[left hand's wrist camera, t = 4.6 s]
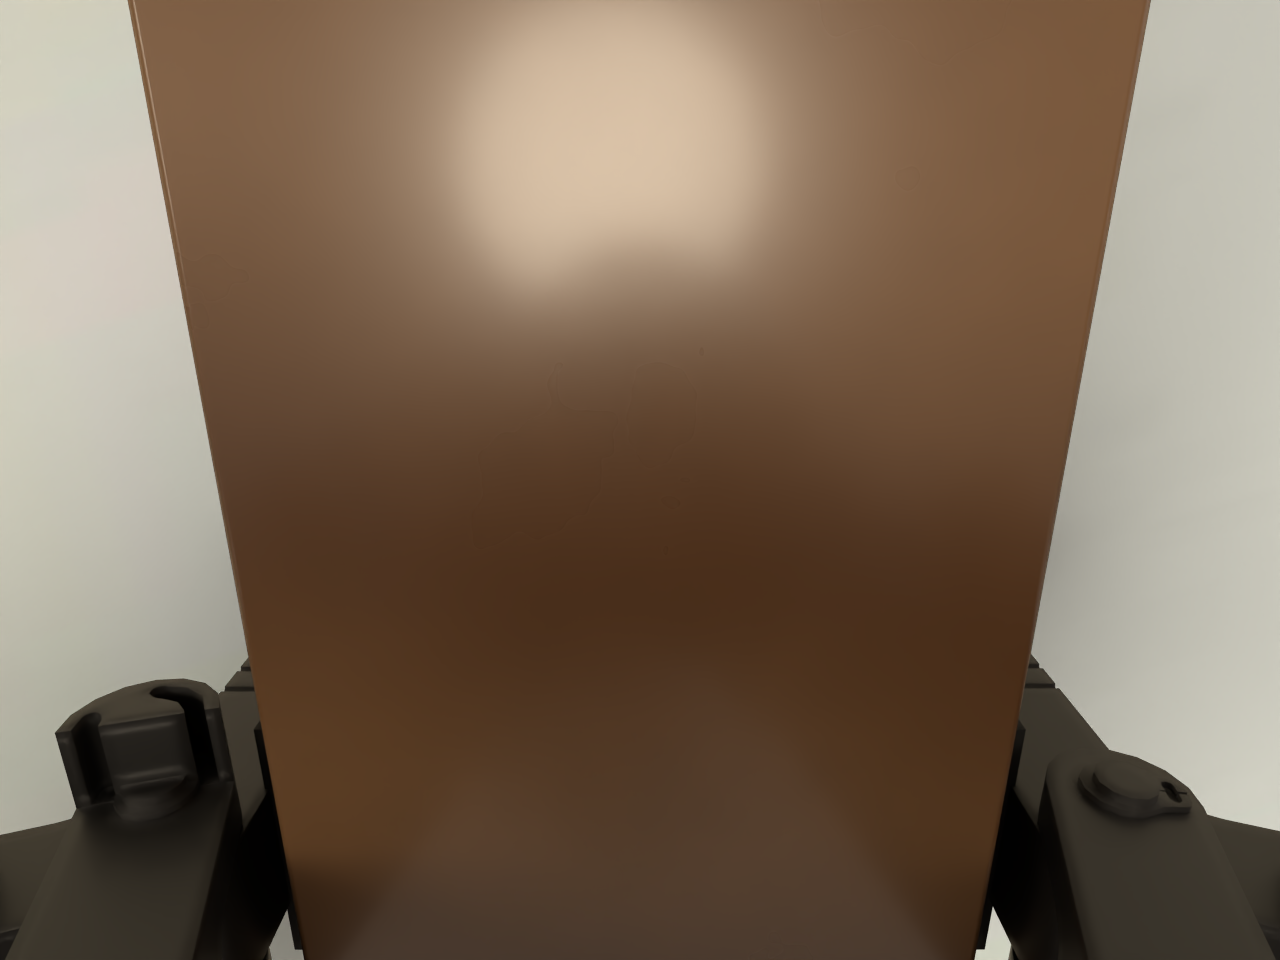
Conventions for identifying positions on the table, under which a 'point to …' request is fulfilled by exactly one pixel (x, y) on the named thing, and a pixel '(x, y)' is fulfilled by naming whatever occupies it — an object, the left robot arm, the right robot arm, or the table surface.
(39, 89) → the table surface
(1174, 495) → the table surface
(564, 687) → the bar
